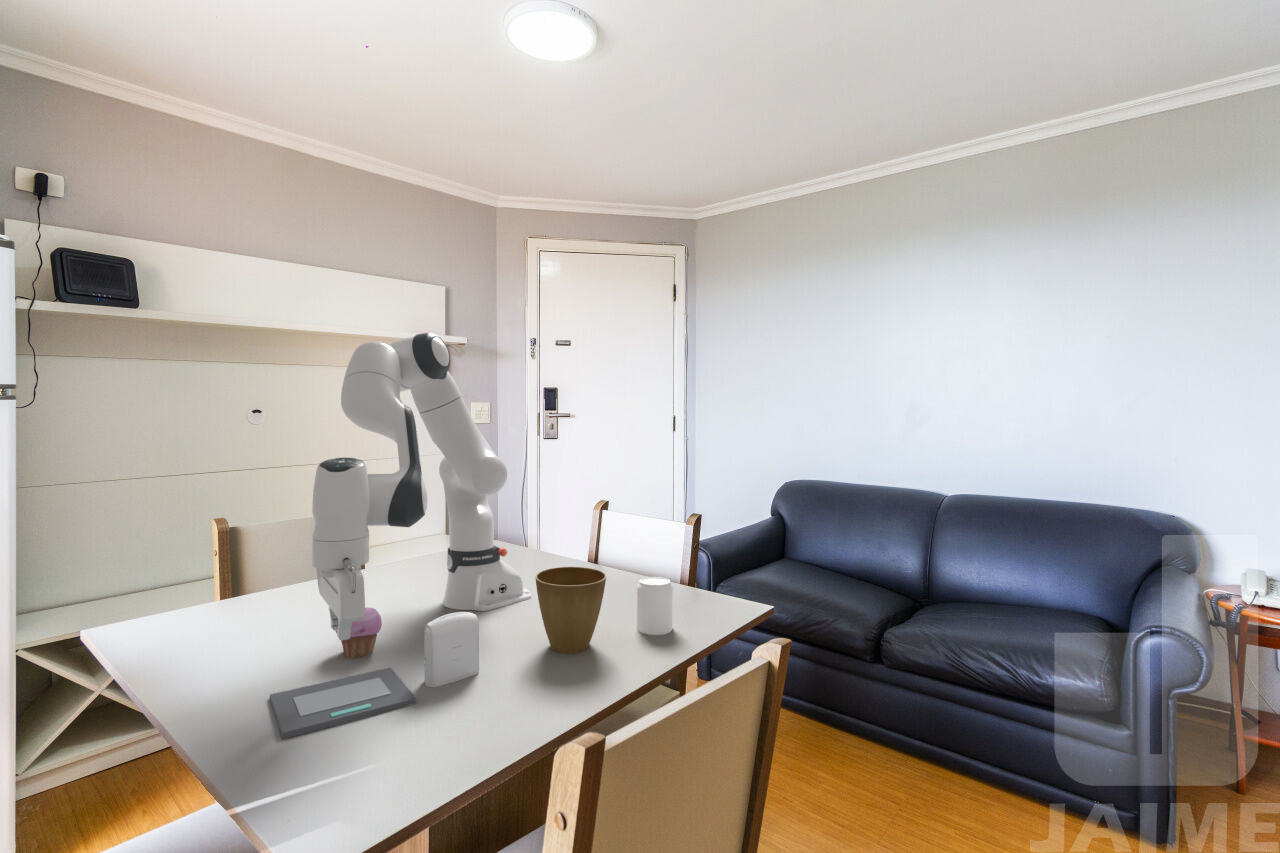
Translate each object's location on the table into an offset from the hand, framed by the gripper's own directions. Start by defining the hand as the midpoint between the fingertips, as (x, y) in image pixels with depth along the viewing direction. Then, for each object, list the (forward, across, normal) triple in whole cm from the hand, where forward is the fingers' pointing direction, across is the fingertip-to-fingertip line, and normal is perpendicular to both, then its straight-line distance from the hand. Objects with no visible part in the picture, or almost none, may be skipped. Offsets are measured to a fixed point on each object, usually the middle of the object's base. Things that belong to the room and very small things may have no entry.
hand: (340, 633), depth 107 cm
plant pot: (+12, -2, -44) cm, 46 cm away
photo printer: (+12, -2, -19) cm, 22 cm away
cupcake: (+12, +20, -7) cm, 24 cm away
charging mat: (+12, 0, 0) cm, 12 cm away
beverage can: (+12, -4, -65) cm, 67 cm away
